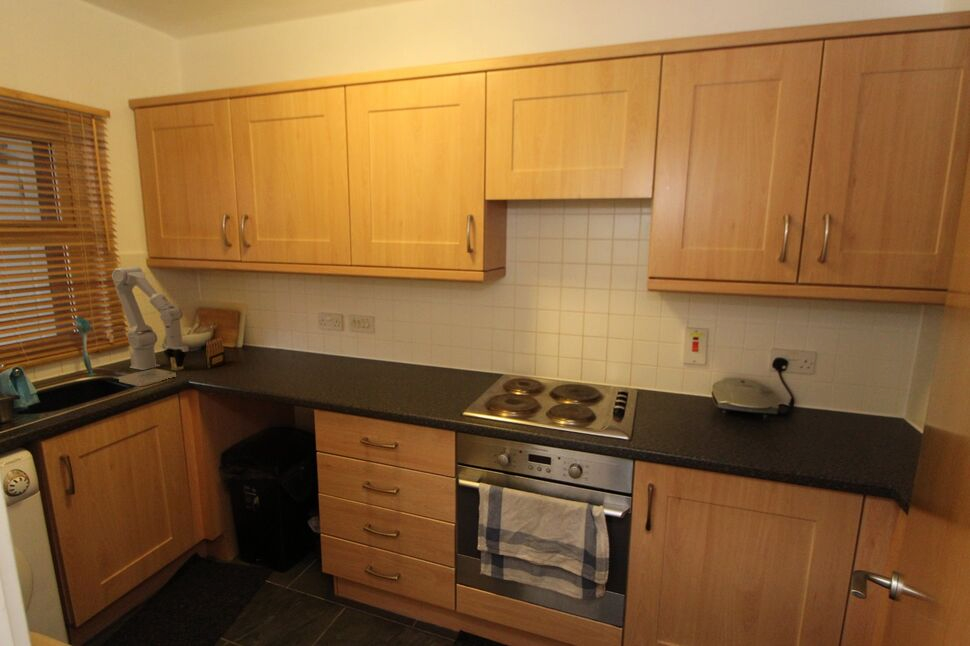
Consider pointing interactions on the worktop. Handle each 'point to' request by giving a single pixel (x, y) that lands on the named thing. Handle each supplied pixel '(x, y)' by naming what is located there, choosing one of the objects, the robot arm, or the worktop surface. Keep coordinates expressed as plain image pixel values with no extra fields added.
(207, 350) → the ammunition clip
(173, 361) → the wooden block
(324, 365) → the worktop surface
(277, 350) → the worktop surface
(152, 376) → the plate with square hole
